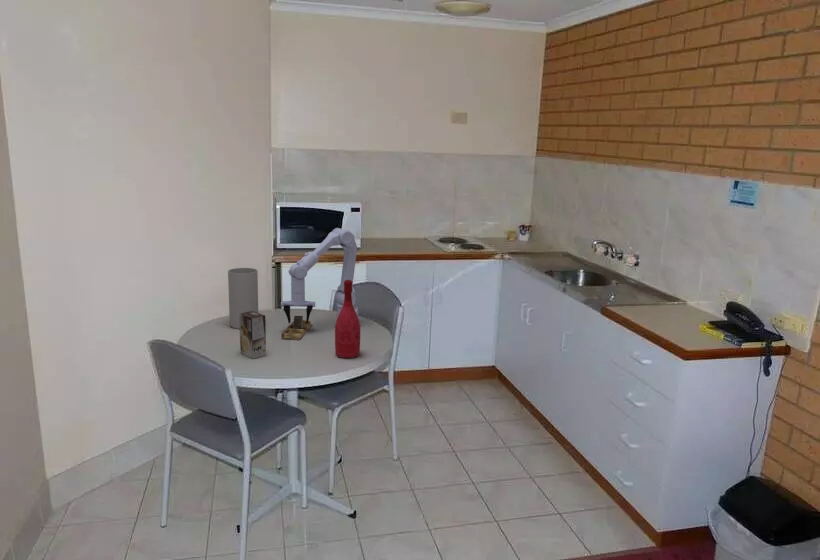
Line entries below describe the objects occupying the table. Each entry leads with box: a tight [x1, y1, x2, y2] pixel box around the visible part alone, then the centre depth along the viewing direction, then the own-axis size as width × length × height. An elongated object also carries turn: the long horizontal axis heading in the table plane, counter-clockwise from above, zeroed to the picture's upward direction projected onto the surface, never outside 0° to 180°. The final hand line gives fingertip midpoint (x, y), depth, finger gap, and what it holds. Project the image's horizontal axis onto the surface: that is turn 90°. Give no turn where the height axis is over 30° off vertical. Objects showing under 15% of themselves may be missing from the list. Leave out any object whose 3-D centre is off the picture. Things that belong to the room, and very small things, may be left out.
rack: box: [280, 319, 313, 341], centre depth 273 cm, size 8×22×2 cm, turn 176°
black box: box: [293, 315, 304, 329], centre depth 272 cm, size 4×5×6 cm
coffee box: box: [239, 311, 267, 359], centre depth 242 cm, size 9×6×16 cm
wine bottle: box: [334, 280, 361, 359], centre depth 243 cm, size 10×10×30 cm
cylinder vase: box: [227, 267, 259, 330], centre depth 278 cm, size 12×12×25 cm
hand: (298, 322), depth 272 cm, fingers open, 7 cm apart
